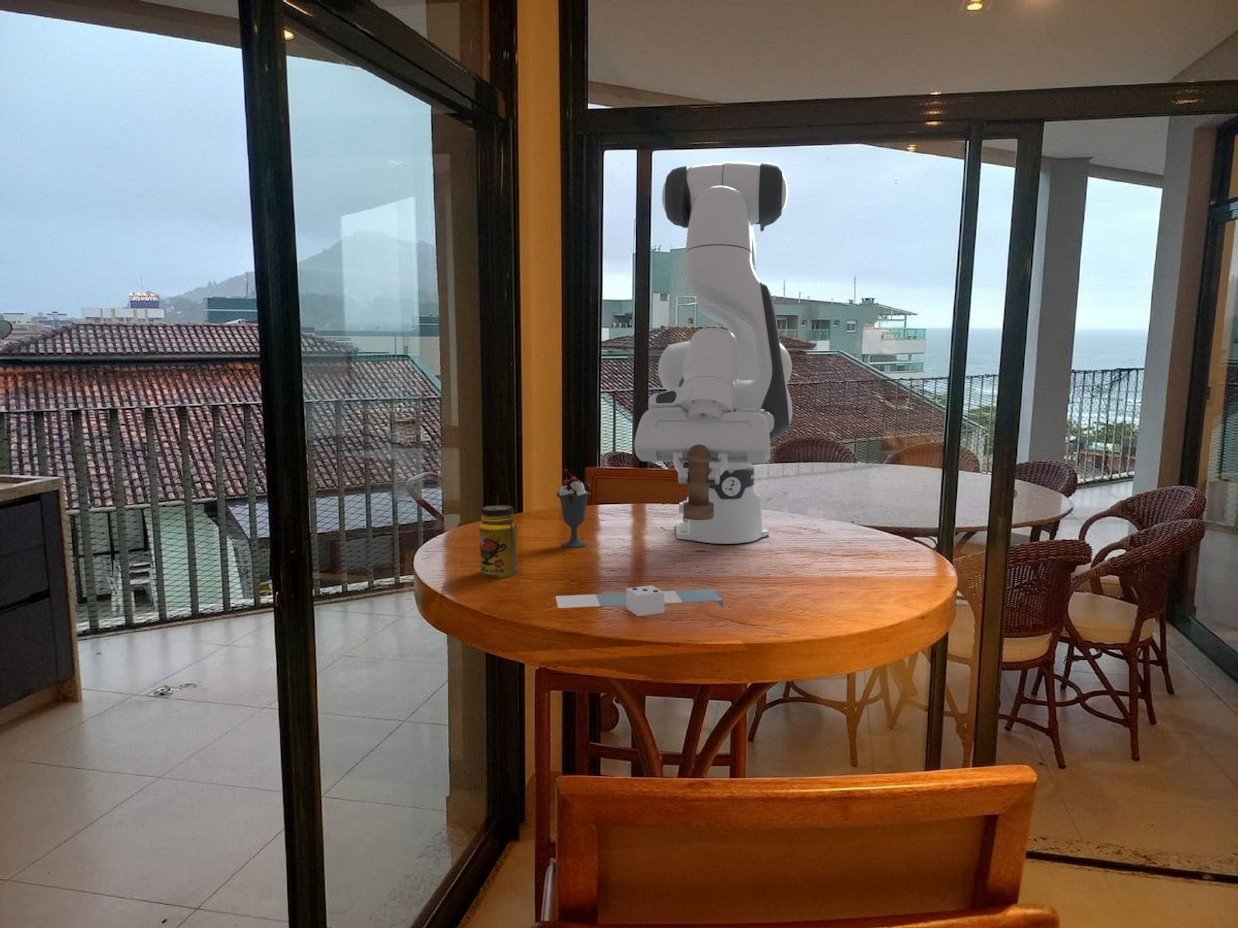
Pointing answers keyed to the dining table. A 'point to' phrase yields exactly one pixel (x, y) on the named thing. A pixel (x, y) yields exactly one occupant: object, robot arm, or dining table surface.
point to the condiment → (498, 542)
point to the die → (645, 600)
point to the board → (620, 598)
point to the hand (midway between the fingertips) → (698, 481)
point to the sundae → (573, 507)
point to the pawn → (698, 485)
